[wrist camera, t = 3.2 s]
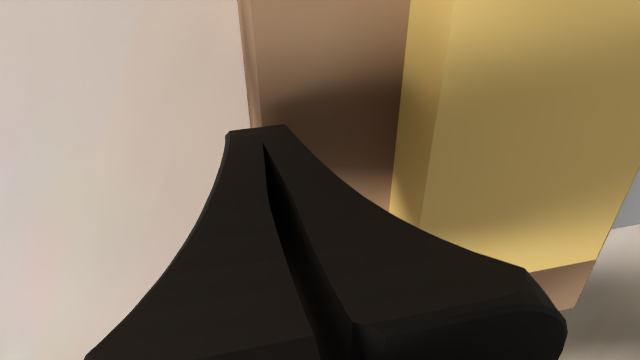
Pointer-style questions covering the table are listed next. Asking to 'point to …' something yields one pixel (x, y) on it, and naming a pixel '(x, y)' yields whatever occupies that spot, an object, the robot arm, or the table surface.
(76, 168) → the table surface
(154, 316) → the robot arm
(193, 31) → the table surface
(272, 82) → the deck
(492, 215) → the yellow rectangular block
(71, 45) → the table surface
